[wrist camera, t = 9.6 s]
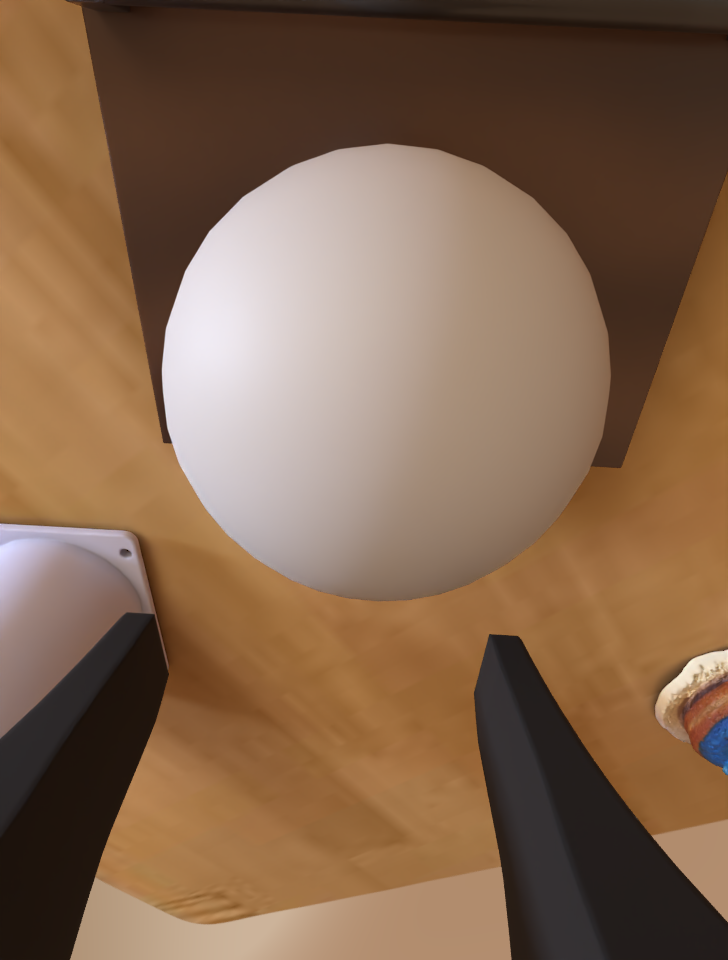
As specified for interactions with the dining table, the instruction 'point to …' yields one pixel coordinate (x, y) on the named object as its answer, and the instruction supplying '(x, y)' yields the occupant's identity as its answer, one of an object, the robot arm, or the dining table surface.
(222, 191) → the shelf
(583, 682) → the dining table surface
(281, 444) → the lightbulb
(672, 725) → the dessert
